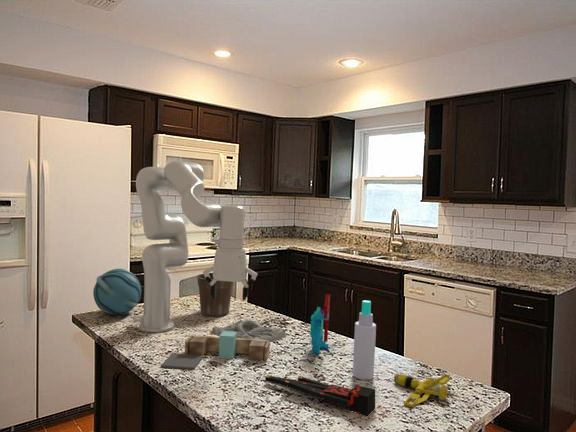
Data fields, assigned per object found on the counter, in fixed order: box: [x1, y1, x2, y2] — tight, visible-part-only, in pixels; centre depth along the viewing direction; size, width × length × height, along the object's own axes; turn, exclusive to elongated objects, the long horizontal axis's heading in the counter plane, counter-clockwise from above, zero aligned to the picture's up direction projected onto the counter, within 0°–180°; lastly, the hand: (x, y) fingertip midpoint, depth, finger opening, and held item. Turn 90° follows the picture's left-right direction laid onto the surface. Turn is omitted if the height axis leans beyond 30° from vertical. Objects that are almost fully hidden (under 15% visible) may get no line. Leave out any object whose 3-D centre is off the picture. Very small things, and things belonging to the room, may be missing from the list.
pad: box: [160, 352, 204, 371], centre depth 135 cm, size 10×10×1 cm
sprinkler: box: [393, 373, 451, 408], centre depth 120 cm, size 19×4×15 cm
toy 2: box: [309, 293, 331, 355], centre depth 148 cm, size 18×6×15 cm
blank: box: [218, 331, 237, 359], centre depth 142 cm, size 4×4×7 cm
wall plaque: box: [211, 319, 287, 343], centre depth 164 cm, size 24×19×4 cm
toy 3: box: [264, 374, 376, 417], centre depth 116 cm, size 8×5×30 cm
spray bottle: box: [352, 299, 377, 381], centre depth 129 cm, size 6×6×22 cm
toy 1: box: [92, 268, 142, 316], centre depth 182 cm, size 18×20×20 cm
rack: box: [184, 334, 271, 362], centre depth 142 cm, size 26×7×4 cm, turn 86°
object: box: [195, 272, 234, 317], centre depth 190 cm, size 16×16×16 cm
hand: (229, 298), depth 141 cm, fingers open, 9 cm apart
